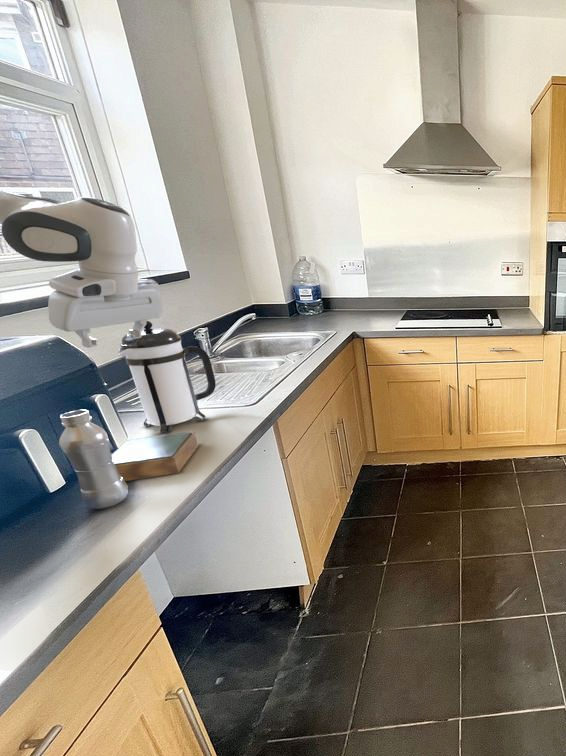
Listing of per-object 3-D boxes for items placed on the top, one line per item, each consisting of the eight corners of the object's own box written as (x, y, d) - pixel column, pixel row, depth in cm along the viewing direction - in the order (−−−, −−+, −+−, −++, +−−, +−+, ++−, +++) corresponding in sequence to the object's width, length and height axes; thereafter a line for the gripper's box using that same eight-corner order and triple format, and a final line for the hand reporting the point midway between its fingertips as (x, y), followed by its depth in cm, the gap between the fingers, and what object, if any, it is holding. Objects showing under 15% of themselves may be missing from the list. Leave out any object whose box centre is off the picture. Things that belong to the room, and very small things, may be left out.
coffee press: (196, 431, 116) (166, 325, 106) (129, 436, 112) (92, 327, 102) (223, 407, 132) (199, 313, 121) (166, 411, 128) (136, 315, 118)
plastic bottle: (128, 505, 84) (95, 415, 77) (82, 517, 80) (43, 423, 73) (133, 490, 89) (102, 404, 82) (90, 501, 85) (54, 411, 78)
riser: (102, 484, 91) (95, 467, 89) (131, 455, 103) (126, 439, 102) (178, 472, 95) (173, 456, 94) (198, 445, 108) (194, 430, 106)
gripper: (146, 274, 98) (148, 329, 103) (38, 280, 79) (46, 347, 84) (169, 282, 97) (170, 337, 102) (66, 290, 78) (72, 357, 83)
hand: (113, 341), depth 93 cm, fingers open, 8 cm apart
